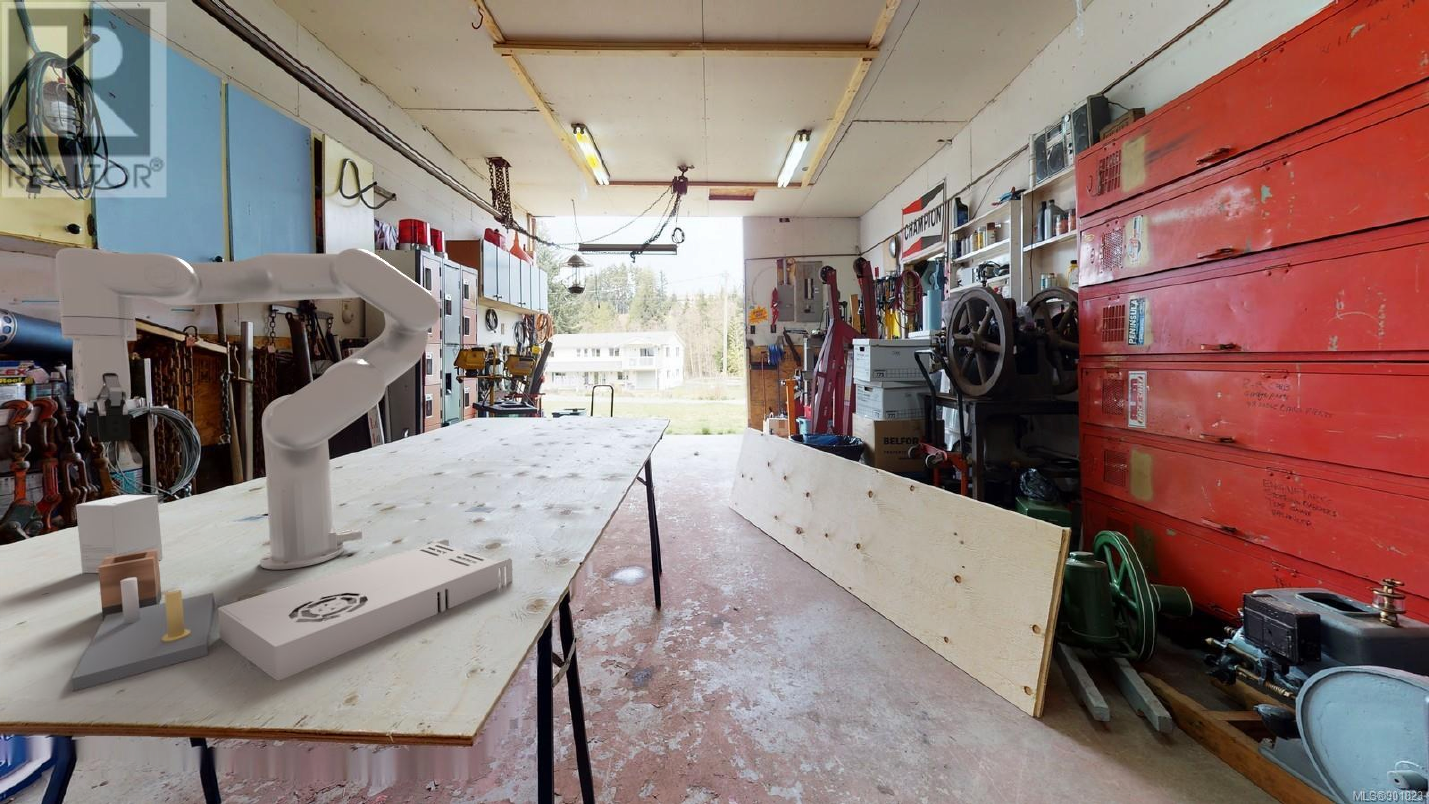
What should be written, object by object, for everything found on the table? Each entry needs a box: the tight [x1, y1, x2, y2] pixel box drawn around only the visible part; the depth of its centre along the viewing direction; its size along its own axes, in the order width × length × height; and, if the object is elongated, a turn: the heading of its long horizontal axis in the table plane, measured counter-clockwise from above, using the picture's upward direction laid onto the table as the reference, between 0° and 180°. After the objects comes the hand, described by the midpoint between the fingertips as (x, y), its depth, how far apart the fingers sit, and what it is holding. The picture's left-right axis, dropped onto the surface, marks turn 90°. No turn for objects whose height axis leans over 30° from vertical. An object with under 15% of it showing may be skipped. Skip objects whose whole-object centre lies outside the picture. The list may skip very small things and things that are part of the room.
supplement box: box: [75, 494, 164, 574], centre depth 95 cm, size 7×7×13 cm
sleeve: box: [98, 549, 162, 621], centre depth 78 cm, size 5×5×8 cm
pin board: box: [71, 577, 215, 692], centre depth 70 cm, size 11×20×8 cm, turn 42°
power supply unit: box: [217, 539, 514, 682], centre depth 80 cm, size 19×33×5 cm, turn 149°
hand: (109, 438), depth 82 cm, fingers open, 9 cm apart
